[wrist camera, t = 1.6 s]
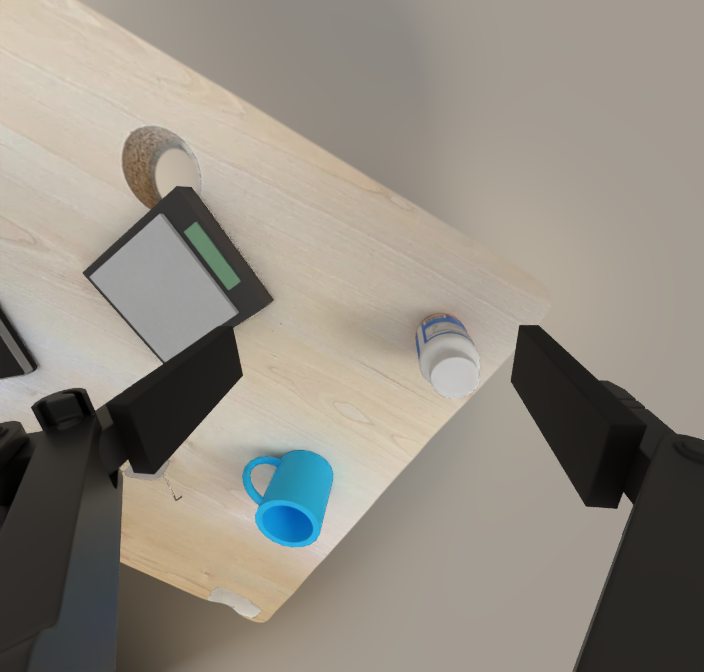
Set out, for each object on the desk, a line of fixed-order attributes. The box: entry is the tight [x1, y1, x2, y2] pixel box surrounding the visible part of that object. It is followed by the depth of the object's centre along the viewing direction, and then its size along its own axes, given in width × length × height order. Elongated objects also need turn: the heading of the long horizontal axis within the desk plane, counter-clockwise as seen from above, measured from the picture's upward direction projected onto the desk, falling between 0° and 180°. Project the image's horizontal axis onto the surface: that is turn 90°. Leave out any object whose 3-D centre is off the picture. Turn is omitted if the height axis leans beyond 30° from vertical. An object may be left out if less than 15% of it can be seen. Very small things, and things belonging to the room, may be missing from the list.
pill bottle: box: [416, 314, 480, 399], centre depth 31 cm, size 6×5×10 cm
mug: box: [242, 450, 333, 547], centre depth 43 cm, size 12×8×8 cm
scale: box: [83, 186, 273, 364], centre depth 36 cm, size 16×14×3 cm
